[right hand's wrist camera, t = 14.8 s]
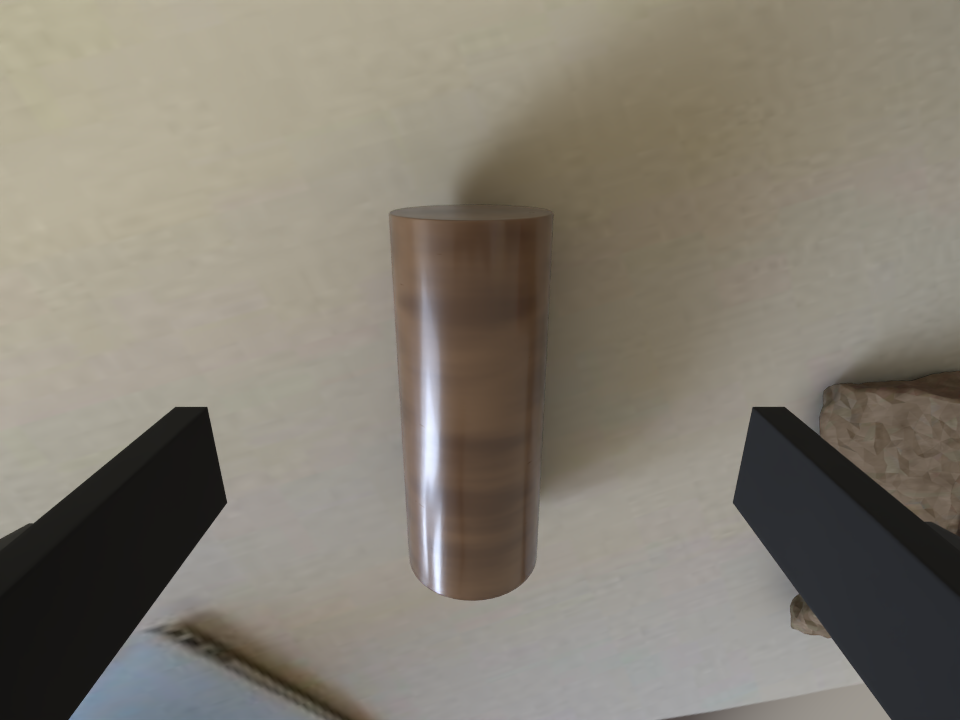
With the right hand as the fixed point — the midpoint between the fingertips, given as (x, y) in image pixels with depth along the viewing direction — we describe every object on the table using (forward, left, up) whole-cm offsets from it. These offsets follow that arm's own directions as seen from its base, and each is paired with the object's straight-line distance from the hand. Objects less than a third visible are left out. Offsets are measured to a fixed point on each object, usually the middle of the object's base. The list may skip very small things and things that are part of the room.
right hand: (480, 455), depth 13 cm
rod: (+1, +7, -22) cm, 23 cm away
